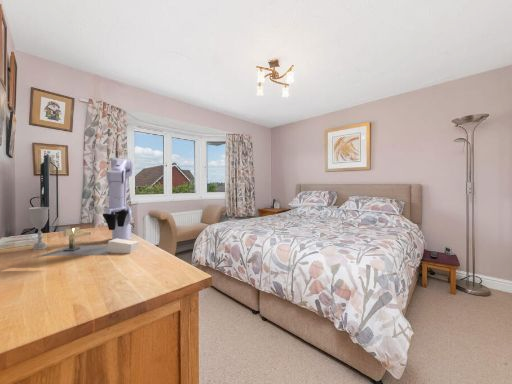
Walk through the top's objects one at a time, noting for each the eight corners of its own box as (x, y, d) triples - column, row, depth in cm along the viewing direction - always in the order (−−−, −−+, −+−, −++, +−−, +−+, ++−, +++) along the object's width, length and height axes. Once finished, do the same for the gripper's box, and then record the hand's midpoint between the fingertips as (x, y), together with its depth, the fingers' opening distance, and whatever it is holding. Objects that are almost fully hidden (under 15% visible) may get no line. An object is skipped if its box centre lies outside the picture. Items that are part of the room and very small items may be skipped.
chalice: (33, 246, 104) (32, 207, 103) (52, 245, 107) (52, 206, 106) (25, 251, 97) (24, 208, 97) (46, 249, 100) (45, 208, 99)
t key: (62, 250, 93) (62, 229, 93) (87, 242, 106) (87, 224, 105) (66, 250, 93) (66, 230, 93) (90, 242, 105) (90, 224, 105)
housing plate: (69, 247, 103) (69, 244, 103) (125, 246, 106) (125, 243, 106) (41, 258, 89) (41, 254, 88) (106, 257, 91) (106, 253, 91)
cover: (115, 248, 99) (116, 238, 99) (137, 252, 98) (138, 241, 98) (107, 251, 94) (108, 240, 94) (130, 255, 93) (131, 244, 93)
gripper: (115, 196, 108) (115, 225, 109) (96, 198, 94) (97, 231, 94) (131, 196, 109) (131, 225, 109) (115, 198, 94) (115, 231, 95)
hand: (116, 228), depth 102 cm, fingers open, 7 cm apart
